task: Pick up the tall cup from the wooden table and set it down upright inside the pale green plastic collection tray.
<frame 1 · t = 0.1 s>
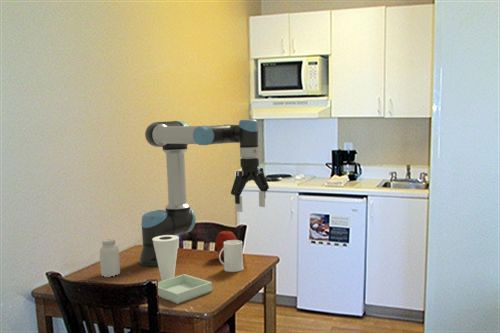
hand: (251, 209, 208), 28 cm above the table, fingers open, 13 cm apart
red rounded piece: (226, 258, 239), on the table
mug: (230, 270, 220), on the table
cup: (167, 281, 207), on the table
tray: (181, 292, 193), on the table
pill bottle: (110, 275, 218), on the table
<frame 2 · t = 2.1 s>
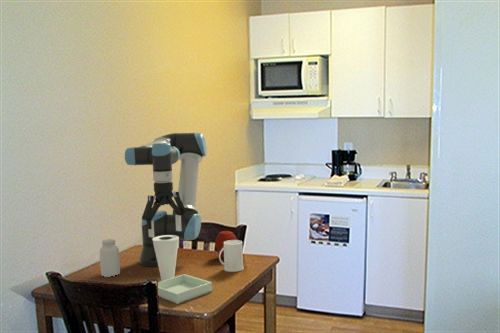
hand: (165, 233, 205), 20 cm above the table, fingers open, 13 cm apart
nothing on the table moved.
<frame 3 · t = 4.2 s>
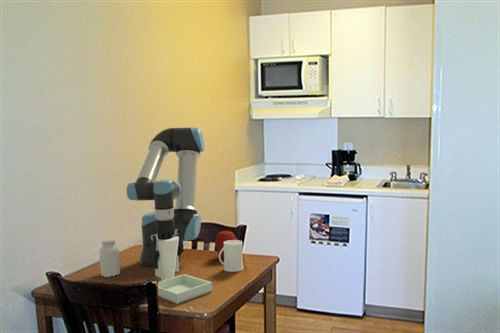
hand: (167, 273, 207), 3 cm above the table, fingers closed on cup, 8 cm apart
cup: (167, 281, 207), on the table, touching gripper
everything else where it was.
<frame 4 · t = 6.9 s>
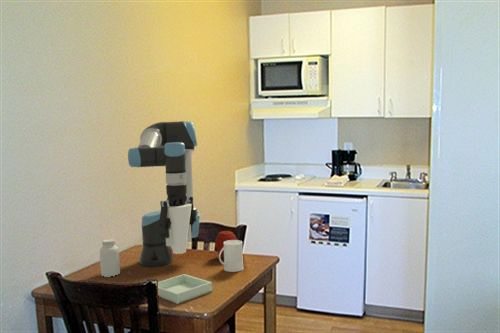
hand: (179, 243, 191), 19 cm above the table, fingers closed on cup, 8 cm apart
cup: (179, 252, 191), point 16 cm above the table, touching gripper
everything else where it was.
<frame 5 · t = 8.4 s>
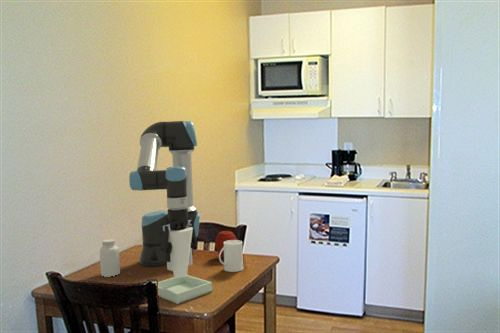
hand: (180, 267, 192), 10 cm above the table, fingers closed on cup, 8 cm apart
cup: (180, 276, 192), point 7 cm above the table, touching gripper
everything else where it was.
when the fingers open (6 cm above the table, at t = 9.7 s): cup drops 2 cm, resting on tray.
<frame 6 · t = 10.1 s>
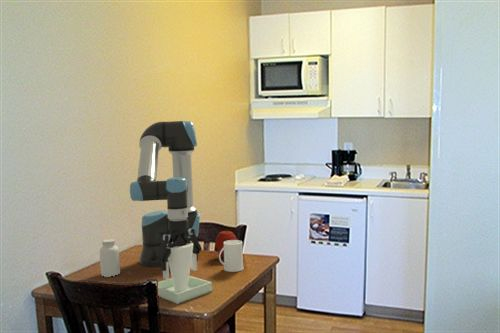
hand: (180, 274, 192), 7 cm above the table, fingers open, 13 cm apart
cup: (181, 291, 193), resting on tray
everything else where it was.
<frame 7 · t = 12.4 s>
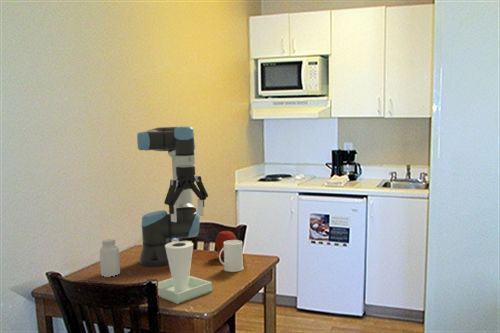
hand: (187, 218, 203), 26 cm above the table, fingers open, 13 cm apart
nothing on the table moved.
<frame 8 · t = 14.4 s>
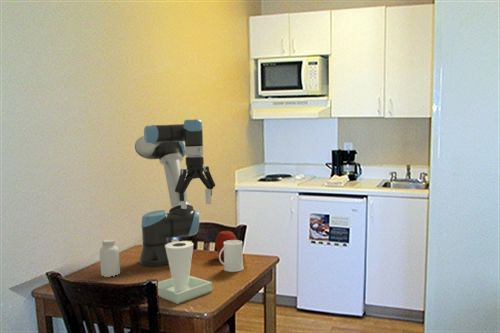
hand: (196, 206, 215), 29 cm above the table, fingers open, 13 cm apart
nothing on the table moved.
at the end: cup 0.1 cm from the tray (horizontally); cup tilted 0°; cup resting on tray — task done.
